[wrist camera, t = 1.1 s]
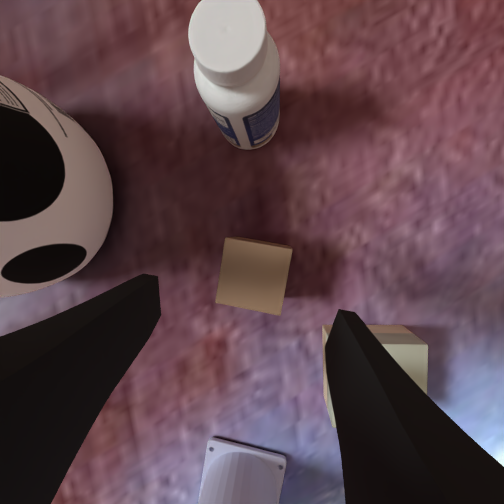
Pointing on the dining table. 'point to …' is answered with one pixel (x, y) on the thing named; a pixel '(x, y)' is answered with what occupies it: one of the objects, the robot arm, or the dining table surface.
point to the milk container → (47, 192)
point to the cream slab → (399, 347)
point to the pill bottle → (237, 69)
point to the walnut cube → (253, 274)
